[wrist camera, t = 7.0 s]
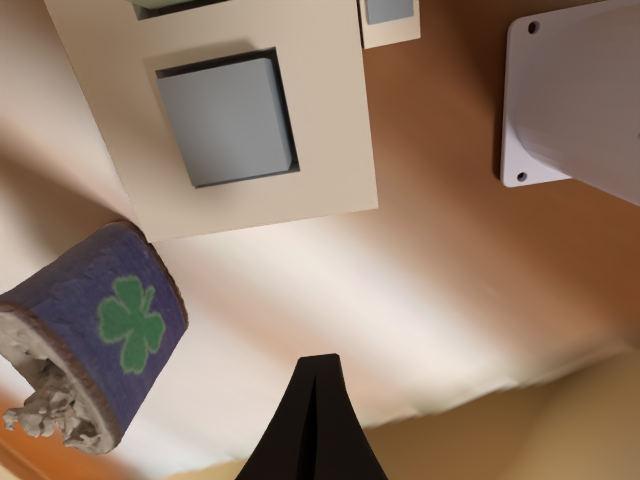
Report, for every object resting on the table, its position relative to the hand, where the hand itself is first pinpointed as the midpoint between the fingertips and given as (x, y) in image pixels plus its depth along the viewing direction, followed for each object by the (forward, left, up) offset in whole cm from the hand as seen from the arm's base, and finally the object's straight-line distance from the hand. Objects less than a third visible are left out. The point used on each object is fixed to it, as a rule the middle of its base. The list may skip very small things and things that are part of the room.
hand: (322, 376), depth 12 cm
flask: (+12, +1, -11) cm, 16 cm away
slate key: (+3, -8, -9) cm, 12 cm away
